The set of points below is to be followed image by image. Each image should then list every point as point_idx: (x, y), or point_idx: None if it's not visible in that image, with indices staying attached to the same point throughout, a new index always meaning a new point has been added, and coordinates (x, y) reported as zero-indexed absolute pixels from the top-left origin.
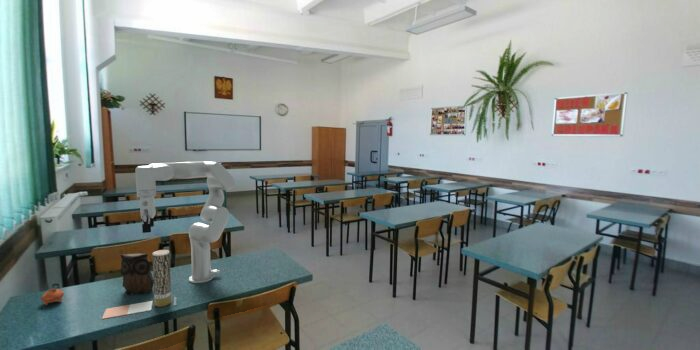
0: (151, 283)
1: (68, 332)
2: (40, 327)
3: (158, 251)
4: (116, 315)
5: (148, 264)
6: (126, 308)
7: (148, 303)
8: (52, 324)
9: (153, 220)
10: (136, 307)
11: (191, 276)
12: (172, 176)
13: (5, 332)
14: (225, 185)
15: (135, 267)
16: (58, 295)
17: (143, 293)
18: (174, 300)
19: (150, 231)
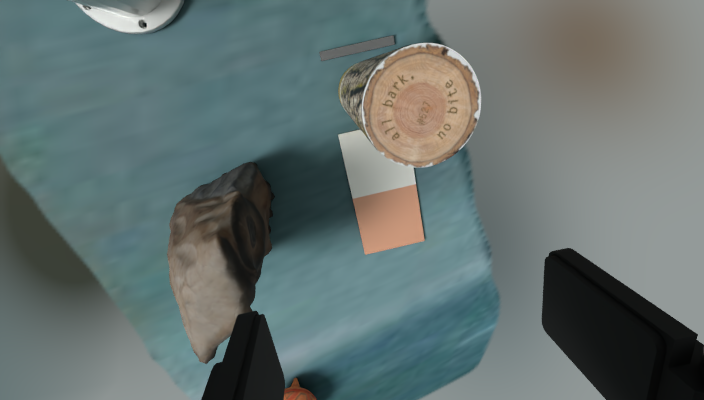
0: (256, 169)
1: (468, 284)
2: (424, 349)
3: (397, 134)
4: (416, 210)
5: (239, 208)
6: (378, 199)
7: (357, 142)
8: (416, 334)
9: (232, 389)
10: (378, 171)
11: (119, 23)
12: None
13: (426, 395)
14: None
15: (257, 256)
16: (303, 397)
17: (269, 186)
18: (352, 51)
19: (569, 253)
